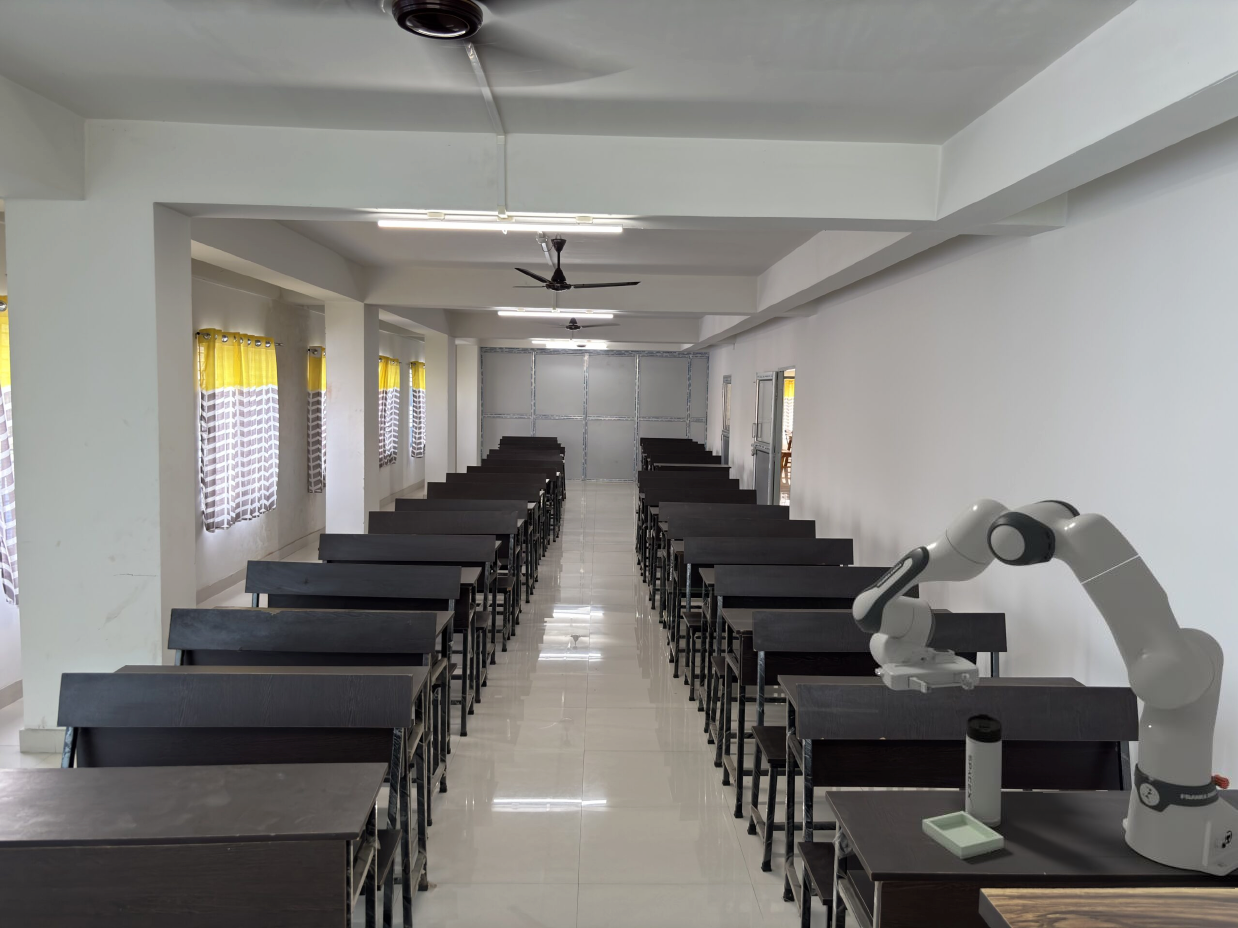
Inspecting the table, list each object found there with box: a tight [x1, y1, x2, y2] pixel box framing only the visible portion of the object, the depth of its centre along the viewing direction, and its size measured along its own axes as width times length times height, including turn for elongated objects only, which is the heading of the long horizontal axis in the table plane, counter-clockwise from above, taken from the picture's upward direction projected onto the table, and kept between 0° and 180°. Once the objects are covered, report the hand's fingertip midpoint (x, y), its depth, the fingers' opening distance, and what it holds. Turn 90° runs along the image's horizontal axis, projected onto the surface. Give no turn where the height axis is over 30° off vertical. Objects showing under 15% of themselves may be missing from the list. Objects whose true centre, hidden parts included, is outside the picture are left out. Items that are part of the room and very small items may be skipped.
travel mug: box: [964, 712, 1003, 828], centre depth 163 cm, size 6×7×20 cm
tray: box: [921, 810, 1005, 860], centre depth 157 cm, size 9×10×2 cm
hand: (949, 687), depth 174 cm, fingers open, 8 cm apart
